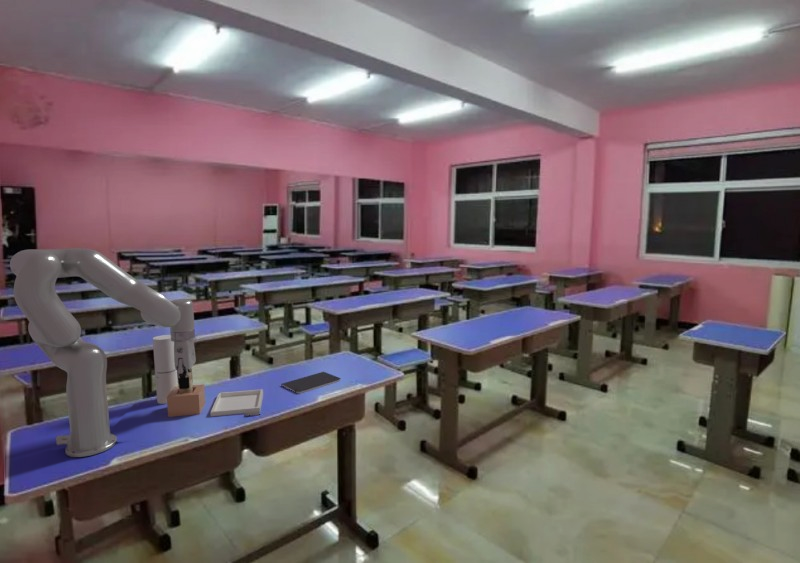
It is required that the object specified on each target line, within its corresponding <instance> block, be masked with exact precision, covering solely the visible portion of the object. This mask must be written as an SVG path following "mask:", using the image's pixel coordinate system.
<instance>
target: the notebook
mask: <svg viewBox="0 0 800 563" xmlns="http://www.w3.org/2000/svg"><path fill="white" fill-rule="evenodd" d="M337 382H341V377H338V376H336V375H333V374H330V373H328V372H326V371H321V372H316V373H314V374H311V375H306V376H304V377H301V378H297V379H293V380H291V381H286V382H282V383H281V387H283V386H284V387H283V388H285V387H286V388H285V389H287V390H289V389H290V391H291V390H292V392H293V391H294V393H295V394H304V393H307V392H309V391H312V390H317V389H319V388H322V387H325V386H330V385H332V384H335V383H337Z"/></svg>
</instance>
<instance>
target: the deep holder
mask: <svg viewBox="0 0 800 563" xmlns="http://www.w3.org/2000/svg"><path fill="white" fill-rule="evenodd" d="M192 388H193V393H183V394H180V389H179V385H178V386H177V387H174V388H173V389H172V391H171V392H170V393H169V395H168V396H167V404H166V405H167V406H166V408H167V417H168V418H172V417H182V416H194V415H195V416H196V415H200V414H201V413H202V411H203V409H204V406H205V404H206V391H205V389H206V388H205V384H192Z"/></svg>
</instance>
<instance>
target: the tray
mask: <svg viewBox="0 0 800 563" xmlns="http://www.w3.org/2000/svg"><path fill="white" fill-rule="evenodd" d="M263 399H264V389H263V388H261V389H251V390H250V389H249V390H239V391H238V390H237V391H226V392H225V391H223V392H219V393H218V395H217V397H216V399H215V401H214V403H213V406H212V408H211V410H210V417H219V416H220V417H221V416H231V415H239V414H240V415H243V414H244V415H243V416H244V417H246V416H249V415H250V416H257V415H258V416H259V414H260V415H261V410H262V406H263V405H262V404H263ZM250 416H249V417H250Z"/></svg>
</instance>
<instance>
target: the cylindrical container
mask: <svg viewBox="0 0 800 563" xmlns="http://www.w3.org/2000/svg"><path fill="white" fill-rule="evenodd" d="M152 348H153V360H154V376H155V389H156V403H158V404H160V405H167V396H168V395H169V393H170V392H171V391H172V389H173V388H174V387H177V386H179V377H178V370H176V369H175V363H174V342H173V341H171V334H162V335H156V336H154V337H152Z"/></svg>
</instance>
